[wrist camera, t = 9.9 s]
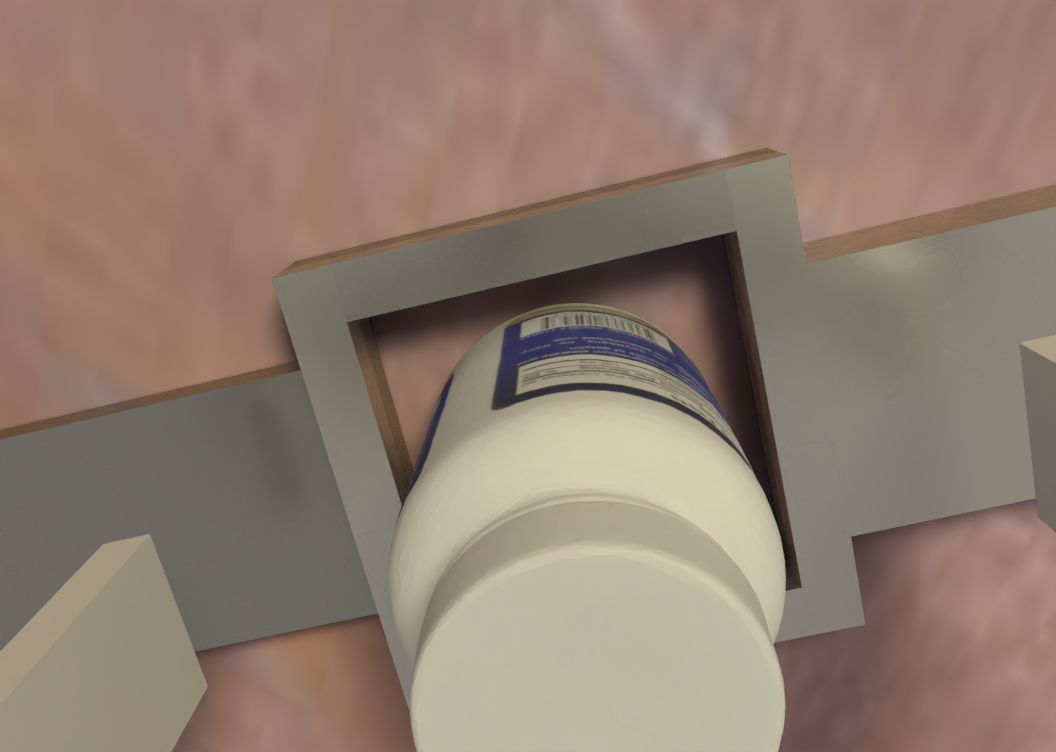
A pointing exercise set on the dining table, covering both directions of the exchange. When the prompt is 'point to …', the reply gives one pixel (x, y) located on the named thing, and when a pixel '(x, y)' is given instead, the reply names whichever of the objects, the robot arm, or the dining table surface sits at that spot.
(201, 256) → the dining table surface
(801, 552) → the square frame bracket
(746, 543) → the pill bottle
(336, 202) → the dining table surface
